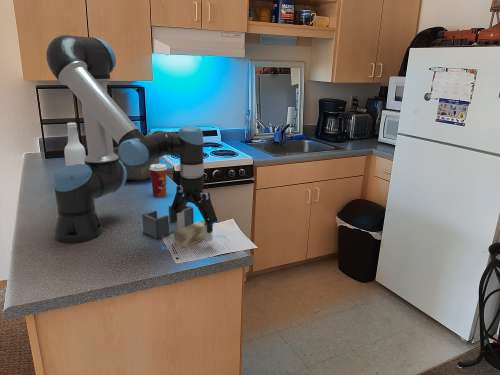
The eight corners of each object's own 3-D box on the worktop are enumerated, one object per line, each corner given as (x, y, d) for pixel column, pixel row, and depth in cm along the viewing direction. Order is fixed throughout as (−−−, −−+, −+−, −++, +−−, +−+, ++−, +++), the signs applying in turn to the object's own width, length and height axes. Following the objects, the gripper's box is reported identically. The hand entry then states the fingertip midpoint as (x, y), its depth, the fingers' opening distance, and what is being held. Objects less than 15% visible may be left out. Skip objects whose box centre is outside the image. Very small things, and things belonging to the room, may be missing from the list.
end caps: (156, 239, 131) (155, 220, 129) (143, 232, 135) (142, 214, 133) (193, 224, 143) (193, 207, 141) (180, 219, 148) (180, 202, 146)
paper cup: (164, 199, 169) (162, 168, 165) (147, 197, 171) (146, 166, 166) (171, 193, 176) (170, 164, 172) (155, 191, 178) (154, 162, 174)
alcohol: (74, 190, 176) (66, 125, 167) (65, 186, 181) (57, 122, 172) (92, 186, 183) (85, 123, 173) (83, 182, 188) (76, 121, 179)
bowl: (168, 180, 195) (167, 151, 191) (121, 188, 181) (118, 157, 177) (149, 169, 214) (147, 143, 209) (104, 175, 200) (102, 147, 195)
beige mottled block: (182, 248, 126) (181, 234, 124) (174, 244, 128) (173, 231, 126) (210, 236, 135) (210, 223, 134) (202, 232, 138) (202, 220, 136)
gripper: (228, 180, 120) (228, 242, 126) (176, 166, 135) (179, 222, 141) (210, 185, 114) (211, 250, 120) (159, 170, 129) (162, 228, 136)
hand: (194, 235), depth 131 cm, fingers open, 13 cm apart
